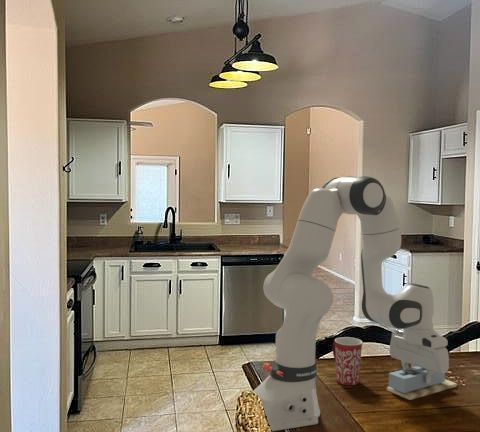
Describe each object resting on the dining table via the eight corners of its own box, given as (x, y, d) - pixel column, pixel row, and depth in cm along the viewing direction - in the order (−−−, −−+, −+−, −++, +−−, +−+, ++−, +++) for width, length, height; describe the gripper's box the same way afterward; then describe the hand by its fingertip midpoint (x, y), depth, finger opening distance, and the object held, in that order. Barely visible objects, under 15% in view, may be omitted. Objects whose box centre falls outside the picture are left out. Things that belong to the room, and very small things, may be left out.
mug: (367, 384, 163) (368, 343, 163) (343, 388, 160) (343, 345, 160) (346, 372, 175) (347, 333, 175) (323, 374, 172) (323, 335, 172)
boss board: (409, 400, 151) (410, 379, 151) (386, 390, 159) (387, 370, 158) (456, 386, 162) (457, 367, 162) (433, 377, 170) (433, 359, 170)
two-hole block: (404, 393, 152) (404, 379, 152) (388, 386, 157) (388, 373, 157) (444, 381, 162) (445, 368, 161) (429, 375, 167) (429, 363, 167)
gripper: (385, 329, 166) (384, 370, 166) (438, 344, 148) (437, 391, 149) (398, 326, 169) (398, 367, 170) (452, 341, 152) (451, 387, 152)
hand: (417, 378), depth 159 cm, fingers closed on two-hole block, 6 cm apart
